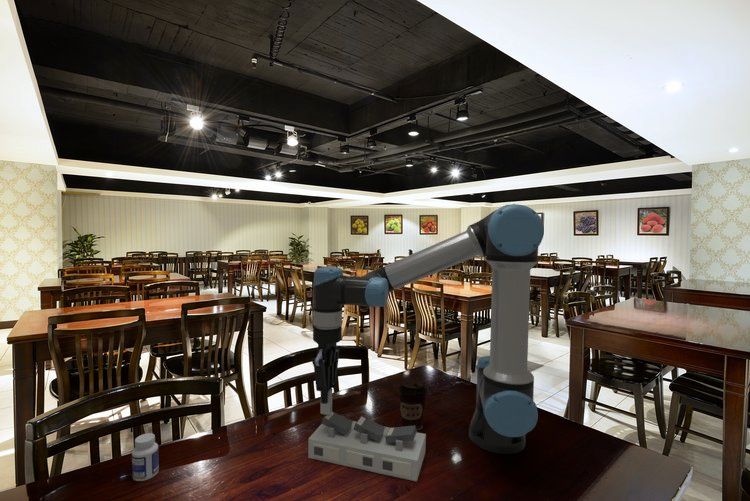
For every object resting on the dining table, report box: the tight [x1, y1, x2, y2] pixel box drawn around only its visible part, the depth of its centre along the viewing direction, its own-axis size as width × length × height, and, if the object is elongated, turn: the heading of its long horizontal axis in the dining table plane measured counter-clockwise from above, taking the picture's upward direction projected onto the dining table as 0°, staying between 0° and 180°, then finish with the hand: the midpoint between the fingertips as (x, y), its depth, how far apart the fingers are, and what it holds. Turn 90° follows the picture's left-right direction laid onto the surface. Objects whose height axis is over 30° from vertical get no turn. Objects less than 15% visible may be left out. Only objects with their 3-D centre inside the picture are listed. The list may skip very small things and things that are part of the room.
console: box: [307, 415, 427, 482], centre depth 95 cm, size 28×12×7 cm, turn 73°
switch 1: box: [320, 411, 354, 435], centre depth 98 cm, size 7×5×3 cm
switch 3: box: [385, 425, 418, 443], centre depth 93 cm, size 7×5×3 cm
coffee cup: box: [398, 379, 428, 431], centre depth 110 cm, size 9×8×13 cm
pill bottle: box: [131, 432, 160, 482], centre depth 87 cm, size 5×5×9 cm
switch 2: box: [353, 415, 386, 442], centre depth 95 cm, size 7×5×3 cm
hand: (326, 413), depth 99 cm, fingers closed
